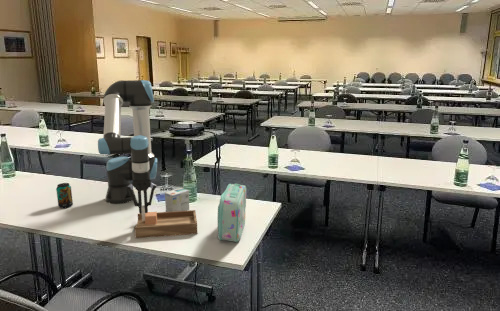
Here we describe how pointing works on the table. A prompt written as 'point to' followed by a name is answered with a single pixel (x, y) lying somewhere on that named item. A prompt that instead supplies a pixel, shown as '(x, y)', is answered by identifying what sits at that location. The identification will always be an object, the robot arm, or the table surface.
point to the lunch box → (232, 213)
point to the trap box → (168, 224)
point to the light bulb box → (177, 200)
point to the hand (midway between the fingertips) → (144, 219)
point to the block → (151, 218)
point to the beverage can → (64, 195)
